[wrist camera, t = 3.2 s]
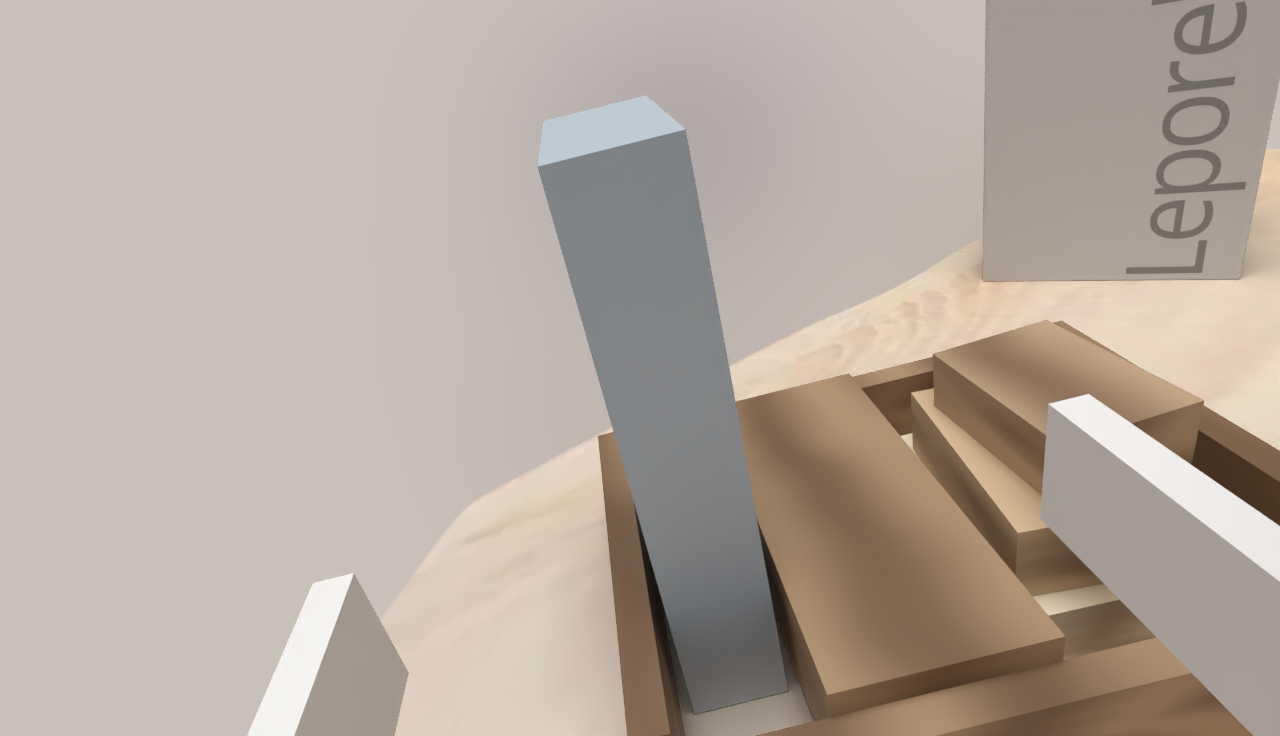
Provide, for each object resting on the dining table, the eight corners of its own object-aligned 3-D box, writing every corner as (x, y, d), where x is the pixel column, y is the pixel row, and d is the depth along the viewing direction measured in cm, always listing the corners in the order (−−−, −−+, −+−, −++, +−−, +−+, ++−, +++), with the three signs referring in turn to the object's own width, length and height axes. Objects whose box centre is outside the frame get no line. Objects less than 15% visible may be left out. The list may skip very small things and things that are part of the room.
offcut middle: (1058, 420, 31) (1063, 362, 30) (1211, 564, 23) (1228, 494, 22) (912, 448, 31) (910, 392, 30) (1014, 599, 23) (1017, 532, 22)
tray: (1040, 396, 37) (1045, 311, 34) (1429, 698, 20) (1488, 575, 18) (619, 500, 37) (596, 423, 34) (670, 884, 20) (632, 786, 18)
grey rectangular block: (737, 542, 32) (645, 95, 23) (788, 691, 25) (685, 129, 16) (664, 560, 32) (543, 121, 23) (694, 714, 25) (537, 166, 16)
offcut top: (1043, 372, 29) (1046, 319, 28) (1191, 463, 23) (1204, 400, 22) (934, 405, 29) (932, 354, 28) (1055, 507, 23) (1060, 445, 22)
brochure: (982, 281, 50) (988, -251, 36) (989, 251, 54) (997, -237, 40) (1239, 279, 42) (1372, -389, 28) (1225, 245, 46) (1336, -355, 32)
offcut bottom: (1048, 452, 34) (1051, 400, 32) (1242, 630, 24) (1259, 567, 22) (887, 489, 34) (884, 439, 32) (1014, 681, 24) (1018, 622, 23)
